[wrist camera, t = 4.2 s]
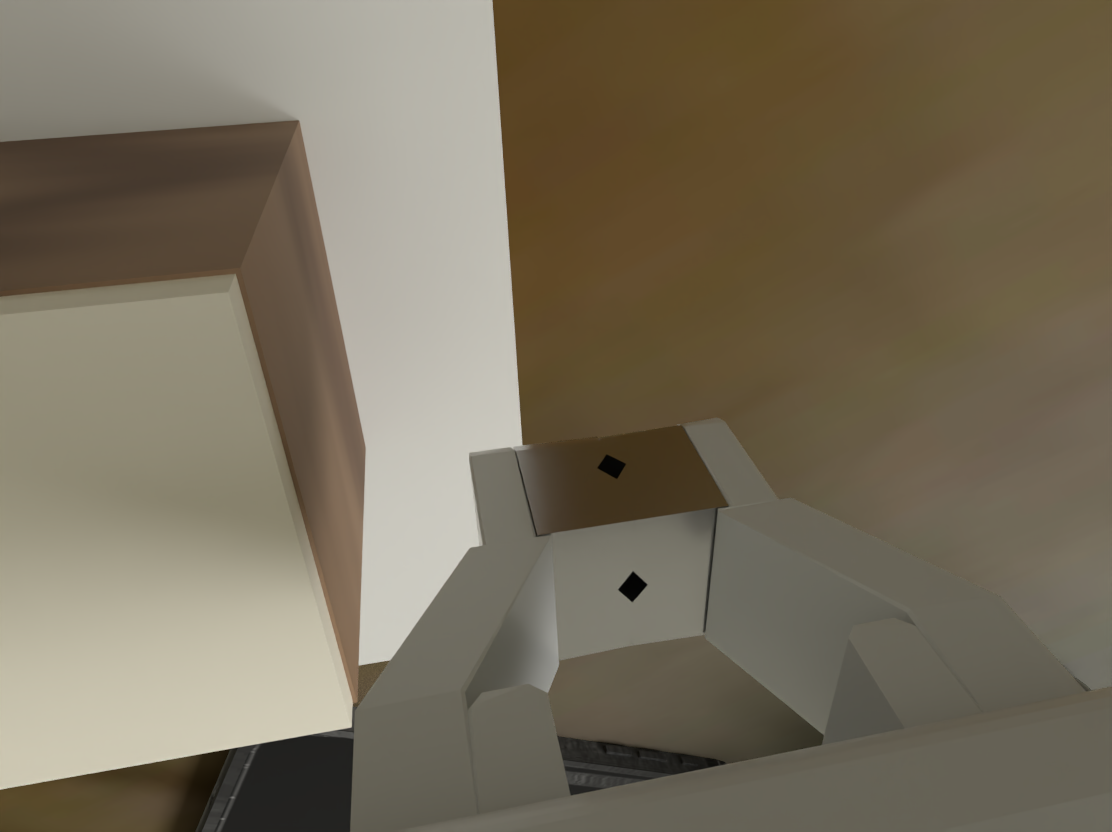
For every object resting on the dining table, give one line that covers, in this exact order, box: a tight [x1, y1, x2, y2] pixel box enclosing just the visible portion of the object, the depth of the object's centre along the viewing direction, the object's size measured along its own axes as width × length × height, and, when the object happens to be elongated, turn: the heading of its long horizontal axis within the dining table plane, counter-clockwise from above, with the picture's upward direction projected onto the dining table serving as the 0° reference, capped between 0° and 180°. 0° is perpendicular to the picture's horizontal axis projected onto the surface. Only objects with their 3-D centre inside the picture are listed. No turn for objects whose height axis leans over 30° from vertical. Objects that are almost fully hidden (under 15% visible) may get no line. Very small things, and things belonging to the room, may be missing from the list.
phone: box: [195, 707, 726, 832], centre depth 23 cm, size 8×1×15 cm
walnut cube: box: [0, 120, 366, 789], centre depth 10 cm, size 6×6×6 cm
